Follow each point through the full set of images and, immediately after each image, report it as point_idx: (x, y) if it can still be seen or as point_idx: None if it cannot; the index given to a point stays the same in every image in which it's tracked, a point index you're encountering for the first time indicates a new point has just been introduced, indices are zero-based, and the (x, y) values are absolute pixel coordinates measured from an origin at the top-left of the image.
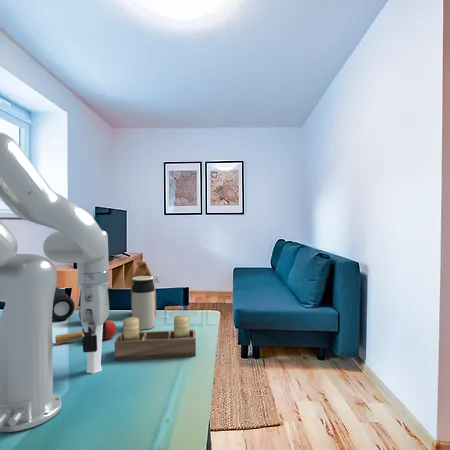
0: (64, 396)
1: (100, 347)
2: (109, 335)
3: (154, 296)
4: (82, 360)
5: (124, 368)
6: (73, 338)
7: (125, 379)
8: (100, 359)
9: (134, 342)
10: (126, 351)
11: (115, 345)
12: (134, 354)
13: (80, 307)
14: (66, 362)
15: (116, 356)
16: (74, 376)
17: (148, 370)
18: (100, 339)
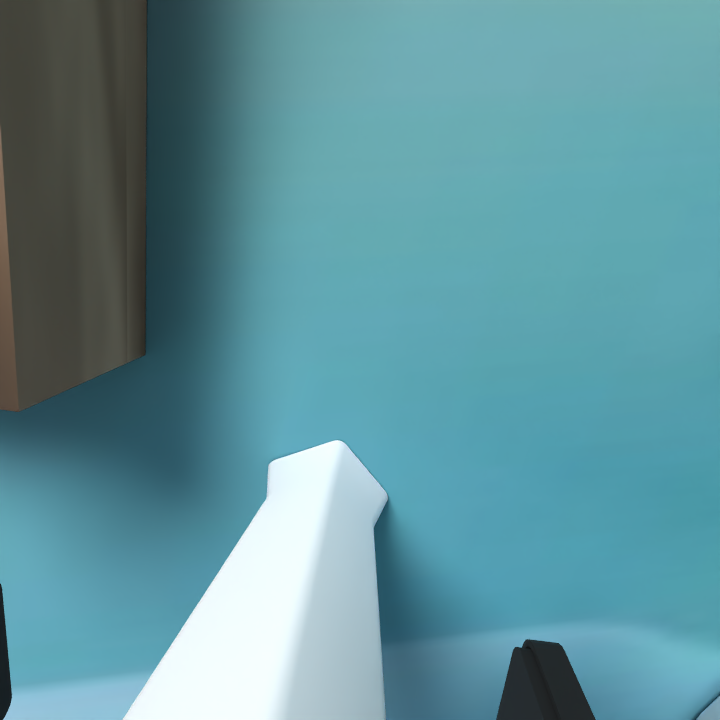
0: (709, 631)
1: (317, 584)
2: None
3: None
4: (107, 597)
5: (345, 255)
6: None
7: (590, 231)
8: (327, 498)
9: (17, 122)
10: (98, 247)
11: (49, 387)
12: (117, 158)
13: None
14: (130, 690)
15: (126, 347)
16: (399, 613)
17: (457, 2)
18: (309, 685)
